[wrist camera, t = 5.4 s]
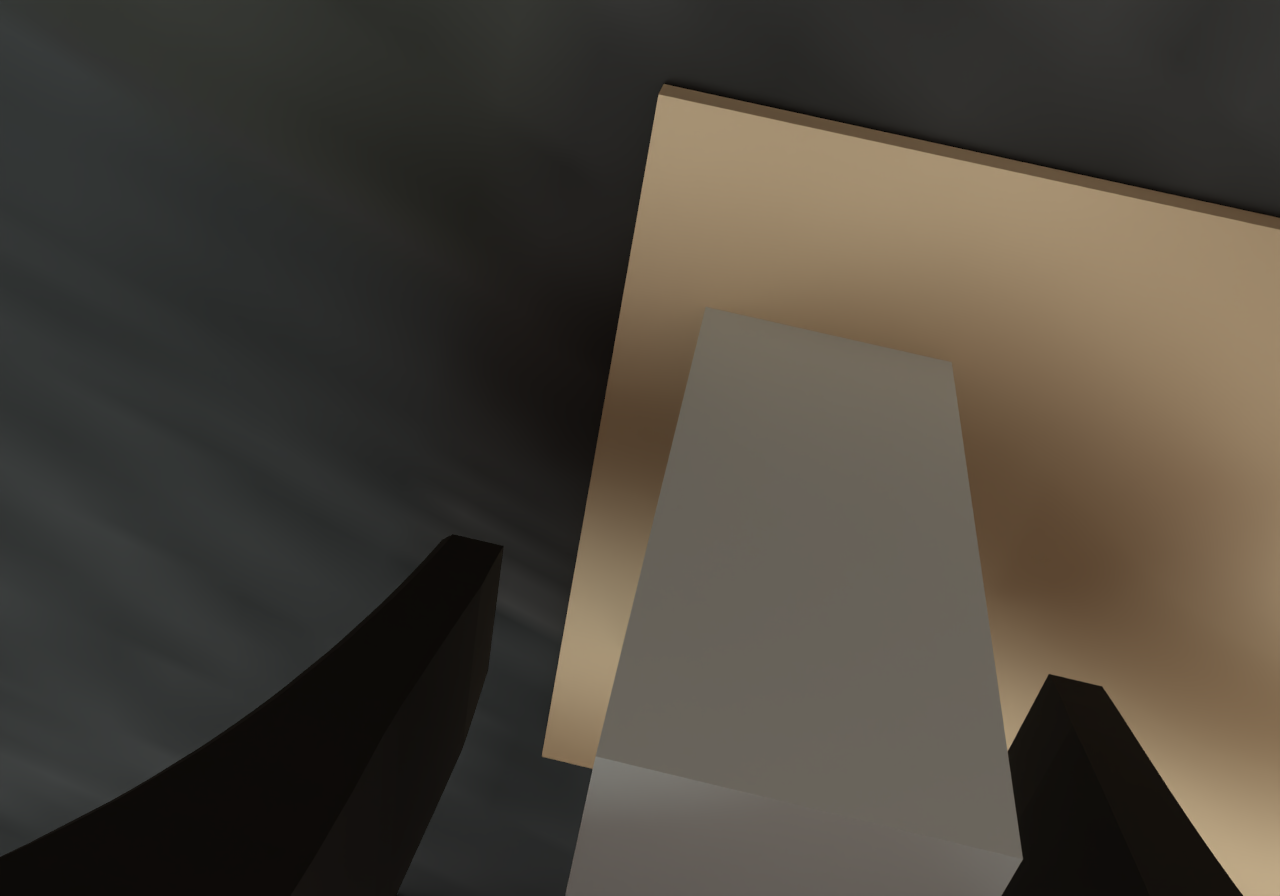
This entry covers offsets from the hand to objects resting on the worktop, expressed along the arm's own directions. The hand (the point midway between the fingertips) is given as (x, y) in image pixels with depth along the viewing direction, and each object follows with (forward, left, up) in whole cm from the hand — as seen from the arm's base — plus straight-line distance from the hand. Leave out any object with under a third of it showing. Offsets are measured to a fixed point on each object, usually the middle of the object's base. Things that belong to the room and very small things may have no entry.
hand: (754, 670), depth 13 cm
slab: (0, 0, -3) cm, 3 cm away
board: (0, -4, -3) cm, 5 cm away
